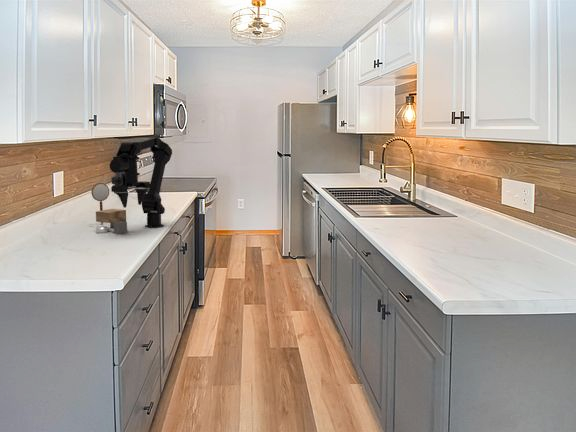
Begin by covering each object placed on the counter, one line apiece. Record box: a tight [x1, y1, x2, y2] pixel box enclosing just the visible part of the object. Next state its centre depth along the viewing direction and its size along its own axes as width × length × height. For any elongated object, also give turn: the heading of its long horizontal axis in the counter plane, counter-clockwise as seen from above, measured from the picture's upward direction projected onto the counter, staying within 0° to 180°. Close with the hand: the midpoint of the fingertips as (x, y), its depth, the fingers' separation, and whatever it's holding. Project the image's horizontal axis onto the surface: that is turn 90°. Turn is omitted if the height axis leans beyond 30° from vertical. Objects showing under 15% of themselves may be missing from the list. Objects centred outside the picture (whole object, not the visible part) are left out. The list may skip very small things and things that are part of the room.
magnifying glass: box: [91, 182, 110, 225], centre depth 257 cm, size 9×2×20 cm, turn 132°
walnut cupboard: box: [95, 208, 127, 229], centre depth 246 cm, size 11×8×9 cm
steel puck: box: [95, 225, 109, 234], centre depth 239 cm, size 5×5×2 cm
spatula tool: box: [108, 221, 128, 235], centre depth 240 cm, size 4×13×5 cm, turn 57°
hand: (132, 206), depth 239 cm, fingers open, 9 cm apart
